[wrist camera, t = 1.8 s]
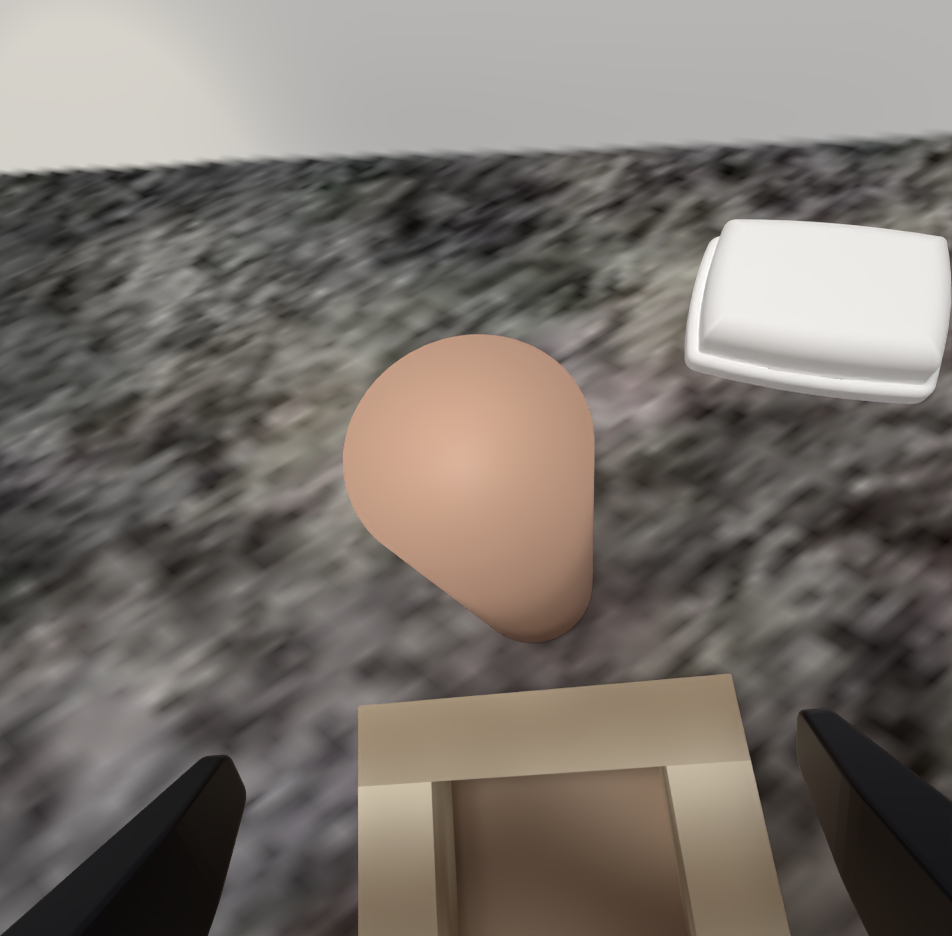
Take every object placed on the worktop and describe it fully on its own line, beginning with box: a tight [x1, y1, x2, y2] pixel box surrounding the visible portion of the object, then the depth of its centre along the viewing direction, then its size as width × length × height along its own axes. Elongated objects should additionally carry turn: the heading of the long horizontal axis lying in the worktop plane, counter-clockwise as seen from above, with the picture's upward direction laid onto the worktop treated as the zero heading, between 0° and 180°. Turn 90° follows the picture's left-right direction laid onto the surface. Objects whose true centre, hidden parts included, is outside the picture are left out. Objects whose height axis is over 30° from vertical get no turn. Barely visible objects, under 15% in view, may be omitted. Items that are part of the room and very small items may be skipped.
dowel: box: [343, 335, 594, 643], centre depth 16 cm, size 4×4×12 cm
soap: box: [685, 219, 951, 404], centre depth 22 cm, size 9×7×3 cm
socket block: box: [358, 674, 791, 936], centre depth 17 cm, size 11×11×3 cm
